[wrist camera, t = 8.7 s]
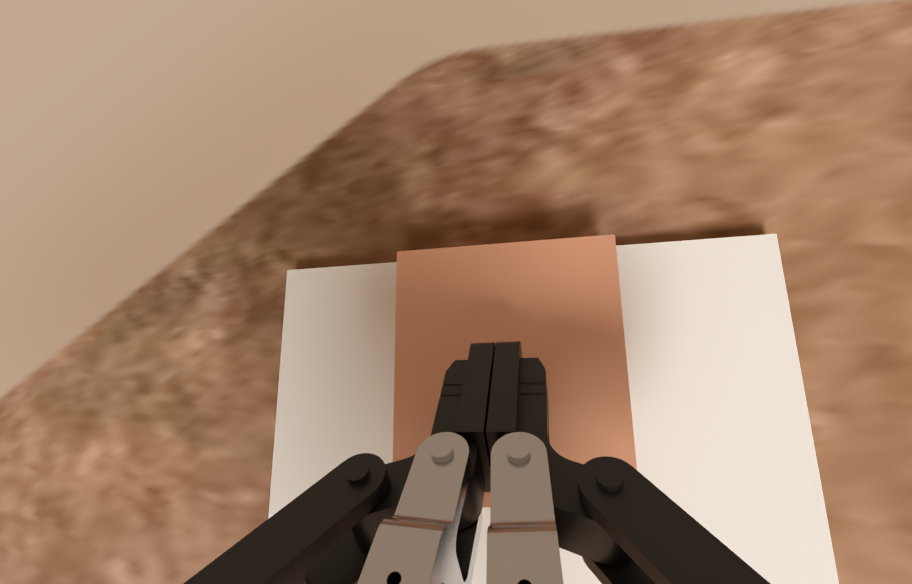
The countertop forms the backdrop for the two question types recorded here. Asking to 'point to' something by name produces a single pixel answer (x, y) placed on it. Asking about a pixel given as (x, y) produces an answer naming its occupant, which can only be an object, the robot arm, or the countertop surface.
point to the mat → (650, 383)
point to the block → (518, 335)
